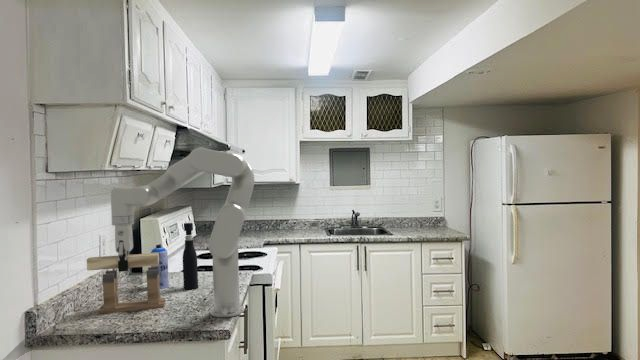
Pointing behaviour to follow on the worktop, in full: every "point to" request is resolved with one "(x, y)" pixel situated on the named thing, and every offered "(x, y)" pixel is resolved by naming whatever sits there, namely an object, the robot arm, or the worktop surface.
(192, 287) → the black tall bottle
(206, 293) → the worktop surface
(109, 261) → the maple bar
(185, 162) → the robot arm
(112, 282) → the walnut rack
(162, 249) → the aerosol can
